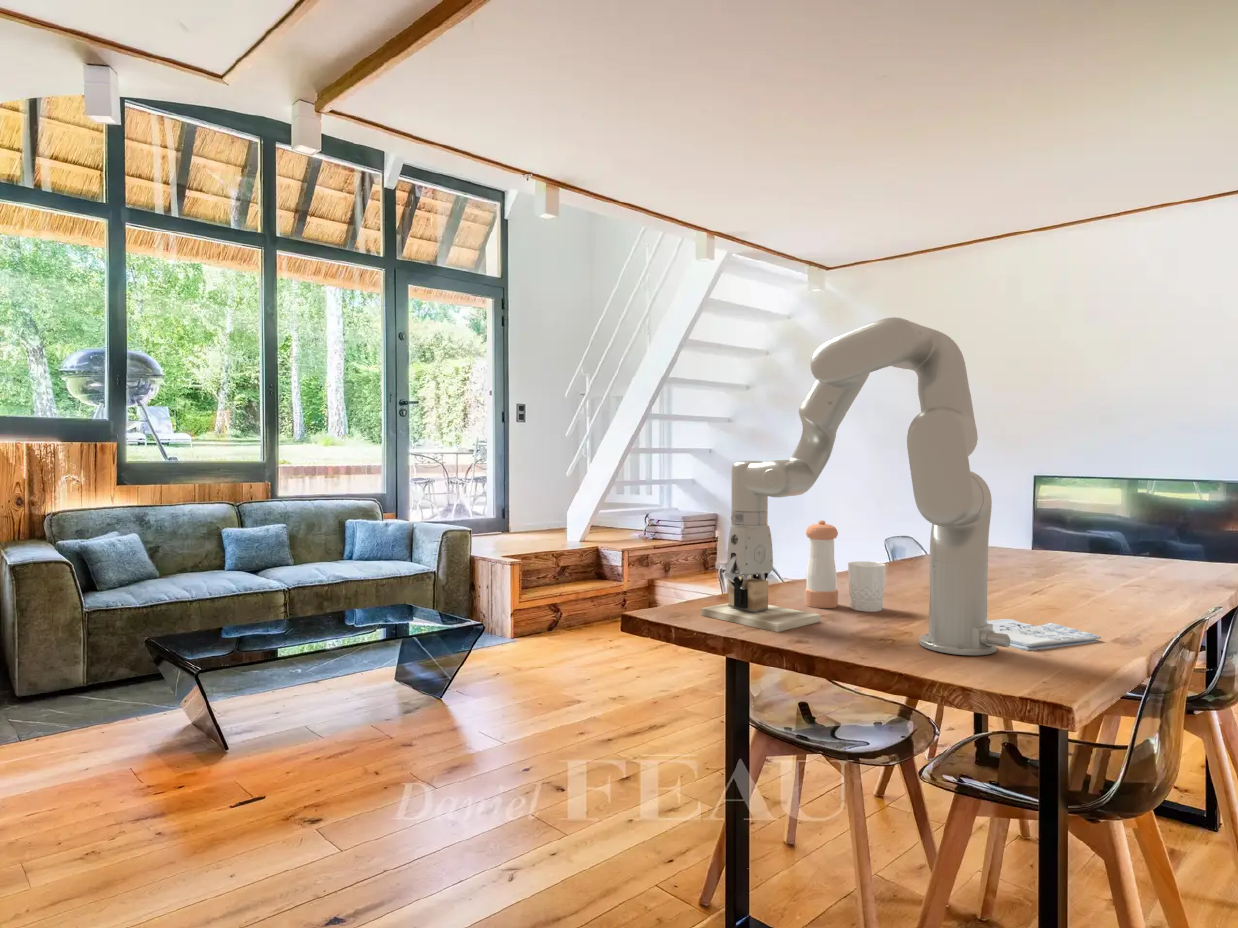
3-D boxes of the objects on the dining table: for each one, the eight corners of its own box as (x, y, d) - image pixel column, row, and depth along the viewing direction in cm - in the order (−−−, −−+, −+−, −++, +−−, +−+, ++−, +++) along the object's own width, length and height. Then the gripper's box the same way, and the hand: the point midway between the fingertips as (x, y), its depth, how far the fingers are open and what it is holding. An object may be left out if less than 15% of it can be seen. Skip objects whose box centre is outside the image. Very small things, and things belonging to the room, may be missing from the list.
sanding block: (767, 609, 164) (768, 580, 164) (754, 612, 161) (754, 582, 161) (742, 603, 169) (742, 576, 169) (728, 606, 166) (728, 578, 166)
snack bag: (1028, 654, 137) (1028, 642, 137) (940, 630, 155) (940, 619, 155) (1103, 644, 144) (1103, 633, 144) (1010, 622, 163) (1011, 612, 163)
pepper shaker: (841, 608, 173) (842, 522, 173) (808, 608, 174) (809, 521, 173) (833, 601, 181) (833, 519, 180) (801, 601, 181) (802, 519, 181)
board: (820, 621, 160) (820, 614, 160) (777, 632, 151) (777, 624, 151) (743, 606, 175) (743, 599, 175) (701, 615, 166) (701, 608, 166)
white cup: (847, 611, 170) (847, 565, 170) (848, 604, 178) (848, 560, 178) (885, 613, 168) (885, 567, 168) (884, 606, 176) (885, 562, 175)
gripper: (737, 523, 156) (736, 614, 156) (788, 518, 167) (787, 603, 168) (708, 520, 162) (708, 608, 162) (760, 516, 173) (760, 598, 173)
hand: (748, 605), depth 165 cm, fingers closed on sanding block, 4 cm apart
